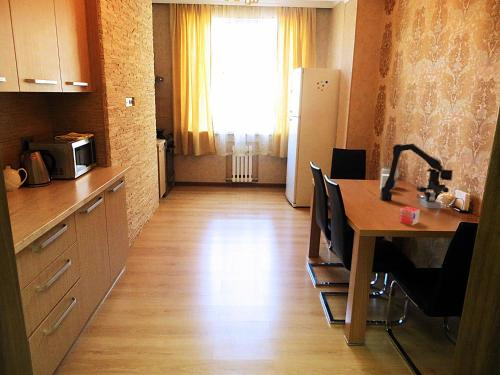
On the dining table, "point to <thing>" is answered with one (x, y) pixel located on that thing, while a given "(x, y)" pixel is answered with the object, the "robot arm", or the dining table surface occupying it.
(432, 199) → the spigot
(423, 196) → the lock pin
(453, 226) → the dining table surface
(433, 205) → the socket
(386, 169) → the chalice
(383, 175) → the supplement box
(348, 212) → the dining table surface
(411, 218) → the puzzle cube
